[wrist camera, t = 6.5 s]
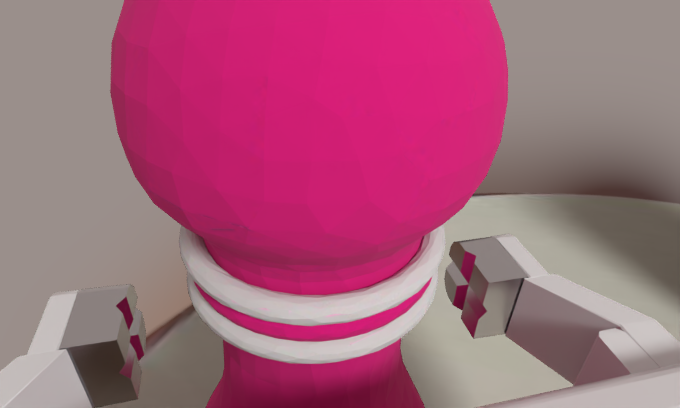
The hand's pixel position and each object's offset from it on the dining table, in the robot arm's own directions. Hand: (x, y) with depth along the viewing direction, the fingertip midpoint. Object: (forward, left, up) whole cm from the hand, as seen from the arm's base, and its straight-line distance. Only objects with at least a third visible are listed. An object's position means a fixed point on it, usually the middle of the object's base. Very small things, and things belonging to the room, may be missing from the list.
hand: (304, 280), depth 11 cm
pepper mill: (-1, 0, -11) cm, 11 cm away
